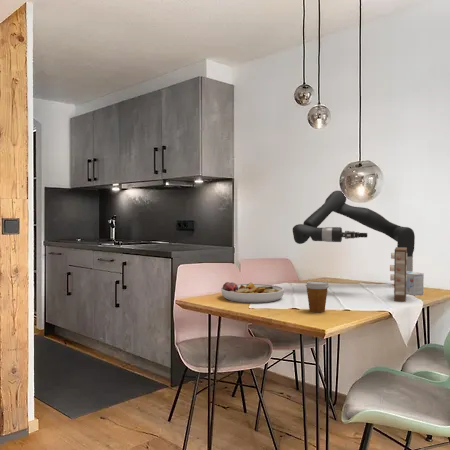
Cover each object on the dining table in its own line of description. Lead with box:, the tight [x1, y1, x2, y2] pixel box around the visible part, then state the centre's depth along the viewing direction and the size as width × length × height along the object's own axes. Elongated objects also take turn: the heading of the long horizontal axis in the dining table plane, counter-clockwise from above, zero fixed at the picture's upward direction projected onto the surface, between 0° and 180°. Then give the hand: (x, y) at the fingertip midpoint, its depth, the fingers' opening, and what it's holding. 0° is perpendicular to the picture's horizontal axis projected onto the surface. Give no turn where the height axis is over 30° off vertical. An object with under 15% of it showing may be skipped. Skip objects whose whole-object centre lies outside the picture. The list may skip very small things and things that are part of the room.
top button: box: [390, 252, 407, 260], centre depth 237 cm, size 3×7×3 cm, turn 68°
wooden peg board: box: [393, 247, 407, 303], centre depth 232 cm, size 17×5×24 cm, turn 158°
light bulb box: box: [406, 271, 425, 296], centre depth 247 cm, size 11×7×11 cm, turn 25°
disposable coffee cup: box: [305, 280, 330, 313], centre depth 203 cm, size 10×10×12 cm
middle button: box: [389, 264, 407, 272], centre depth 228 cm, size 3×7×3 cm, turn 68°
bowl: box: [220, 281, 285, 304], centre depth 233 cm, size 30×30×8 cm
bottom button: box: [389, 273, 407, 282], centre depth 232 cm, size 3×7×3 cm, turn 68°
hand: (367, 235), depth 241 cm, fingers closed
